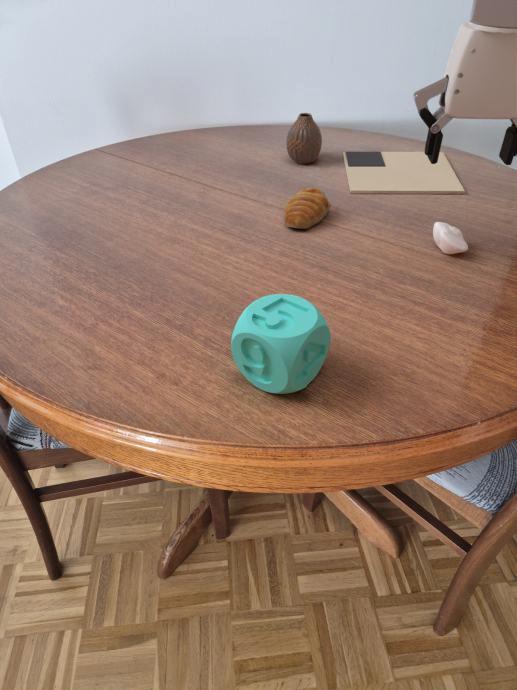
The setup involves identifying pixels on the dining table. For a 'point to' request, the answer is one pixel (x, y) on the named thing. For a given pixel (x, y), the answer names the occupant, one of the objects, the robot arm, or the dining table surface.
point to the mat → (399, 173)
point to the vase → (304, 140)
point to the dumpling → (449, 238)
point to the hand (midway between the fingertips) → (468, 160)
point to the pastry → (306, 208)
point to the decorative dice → (280, 343)
